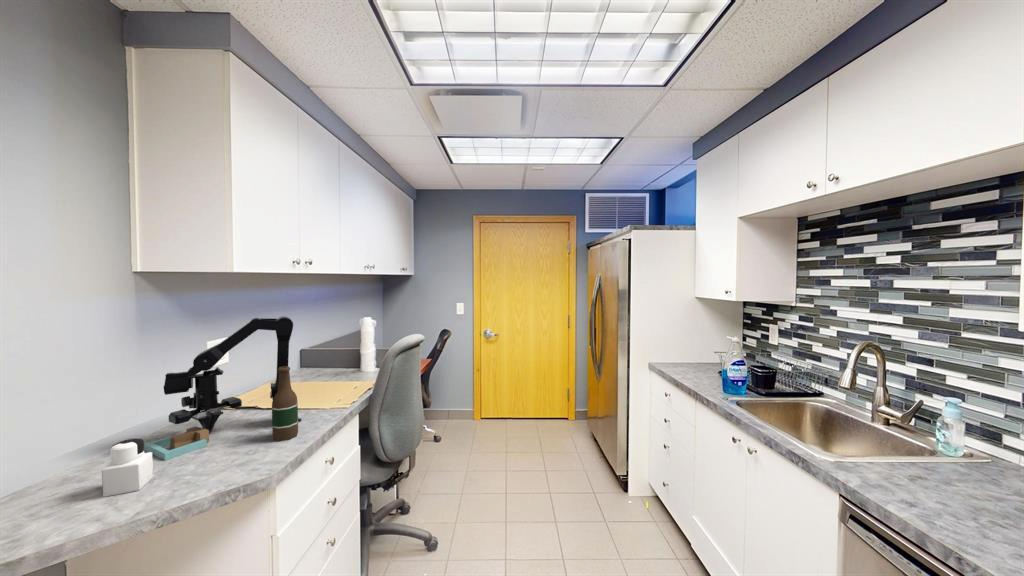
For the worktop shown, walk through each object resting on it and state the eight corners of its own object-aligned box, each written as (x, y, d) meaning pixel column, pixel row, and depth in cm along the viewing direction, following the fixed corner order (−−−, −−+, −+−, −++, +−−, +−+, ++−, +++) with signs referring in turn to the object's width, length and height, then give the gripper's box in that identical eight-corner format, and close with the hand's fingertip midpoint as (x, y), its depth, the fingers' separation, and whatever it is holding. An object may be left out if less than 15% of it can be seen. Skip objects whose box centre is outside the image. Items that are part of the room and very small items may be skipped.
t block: (166, 448, 119) (165, 435, 119) (195, 437, 126) (195, 426, 126) (180, 452, 116) (179, 439, 116) (209, 441, 123) (208, 430, 123)
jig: (207, 446, 120) (206, 440, 120) (165, 460, 111) (164, 453, 111) (186, 437, 127) (186, 431, 127) (145, 450, 118) (144, 443, 117)
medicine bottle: (118, 483, 99) (117, 438, 98) (153, 477, 101) (152, 433, 101) (102, 497, 92) (100, 450, 92) (140, 490, 95) (138, 444, 95)
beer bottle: (269, 437, 126) (267, 367, 126) (294, 430, 132) (292, 363, 131) (276, 444, 121) (274, 371, 120) (302, 436, 127) (300, 366, 126)
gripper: (226, 379, 138) (227, 420, 138) (160, 393, 121) (162, 440, 122) (241, 383, 132) (243, 426, 133) (175, 398, 116) (177, 447, 117)
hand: (208, 434), depth 126 cm, fingers closed
